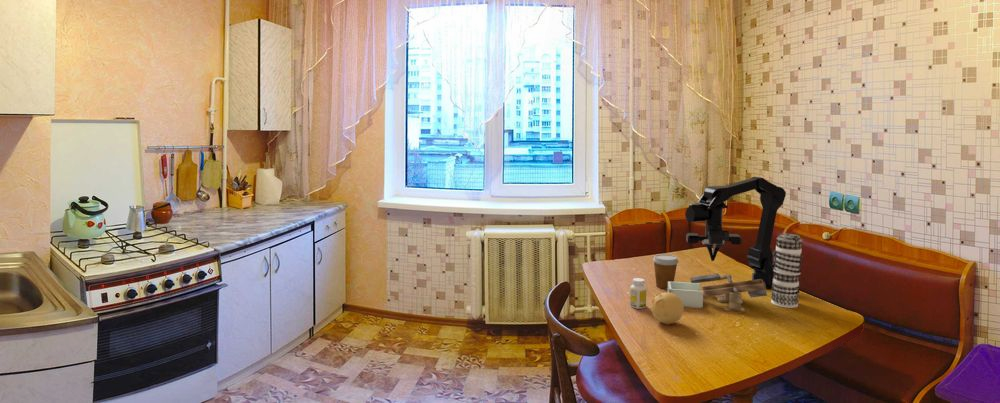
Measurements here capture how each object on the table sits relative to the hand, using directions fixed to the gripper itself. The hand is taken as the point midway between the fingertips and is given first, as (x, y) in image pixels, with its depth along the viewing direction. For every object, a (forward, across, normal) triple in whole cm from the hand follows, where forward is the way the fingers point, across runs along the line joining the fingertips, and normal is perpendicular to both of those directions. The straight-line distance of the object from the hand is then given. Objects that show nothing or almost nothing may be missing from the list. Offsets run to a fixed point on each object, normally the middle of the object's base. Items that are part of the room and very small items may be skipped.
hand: (712, 260), depth 190 cm
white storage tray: (+12, -11, -15) cm, 22 cm away
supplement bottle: (+11, -27, -23) cm, 38 cm away
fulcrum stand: (+12, +5, -14) cm, 19 cm away
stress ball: (+11, -18, -36) cm, 42 cm away
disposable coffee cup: (+12, -17, +2) cm, 21 cm away
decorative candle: (+13, +23, -9) cm, 27 cm away
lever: (+9, +4, -11) cm, 15 cm away
